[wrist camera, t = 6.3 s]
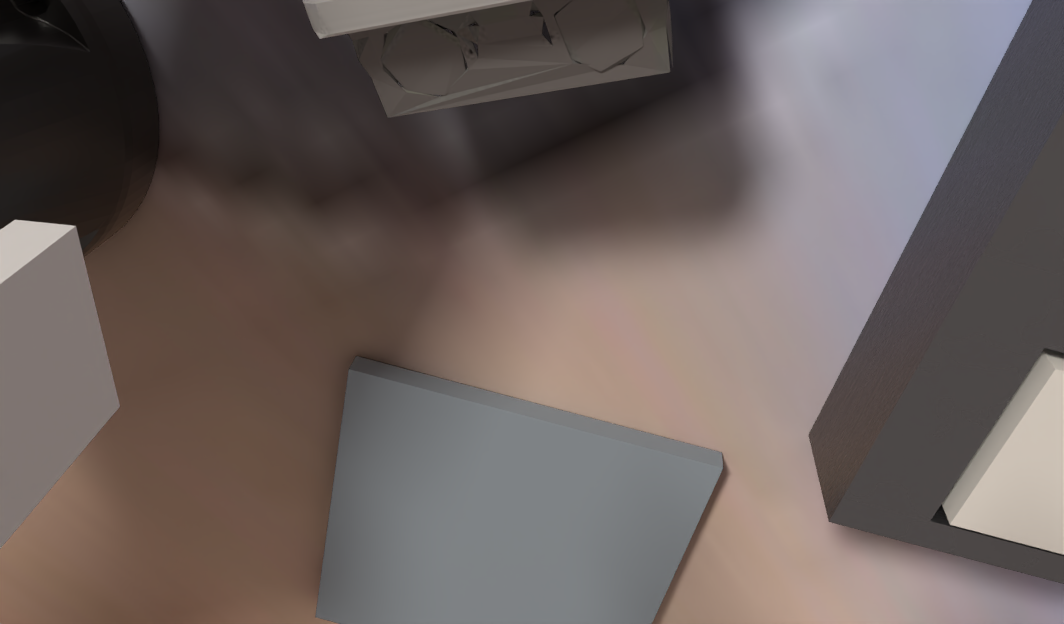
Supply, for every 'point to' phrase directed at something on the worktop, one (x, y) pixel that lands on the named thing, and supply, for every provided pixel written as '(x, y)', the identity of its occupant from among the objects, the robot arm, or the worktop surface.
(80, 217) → the robot arm
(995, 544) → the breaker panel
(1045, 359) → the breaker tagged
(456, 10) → the electrical switch
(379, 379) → the pad
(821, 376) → the worktop surface
